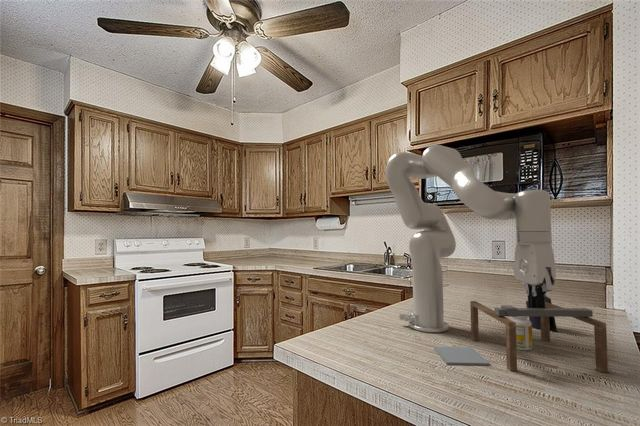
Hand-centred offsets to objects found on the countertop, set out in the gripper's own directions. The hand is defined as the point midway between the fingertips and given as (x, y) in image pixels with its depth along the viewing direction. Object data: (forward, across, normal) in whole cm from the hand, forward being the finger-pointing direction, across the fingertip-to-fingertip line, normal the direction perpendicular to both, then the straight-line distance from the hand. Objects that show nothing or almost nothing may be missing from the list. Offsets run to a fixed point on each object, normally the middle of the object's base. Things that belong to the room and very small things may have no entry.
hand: (536, 311), depth 81 cm
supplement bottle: (+12, -7, 0) cm, 14 cm away
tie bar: (0, +3, 0) cm, 3 cm away
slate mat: (+12, 0, -19) cm, 22 cm away
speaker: (+12, -24, +16) cm, 31 cm away
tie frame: (+12, -3, 0) cm, 12 cm away
